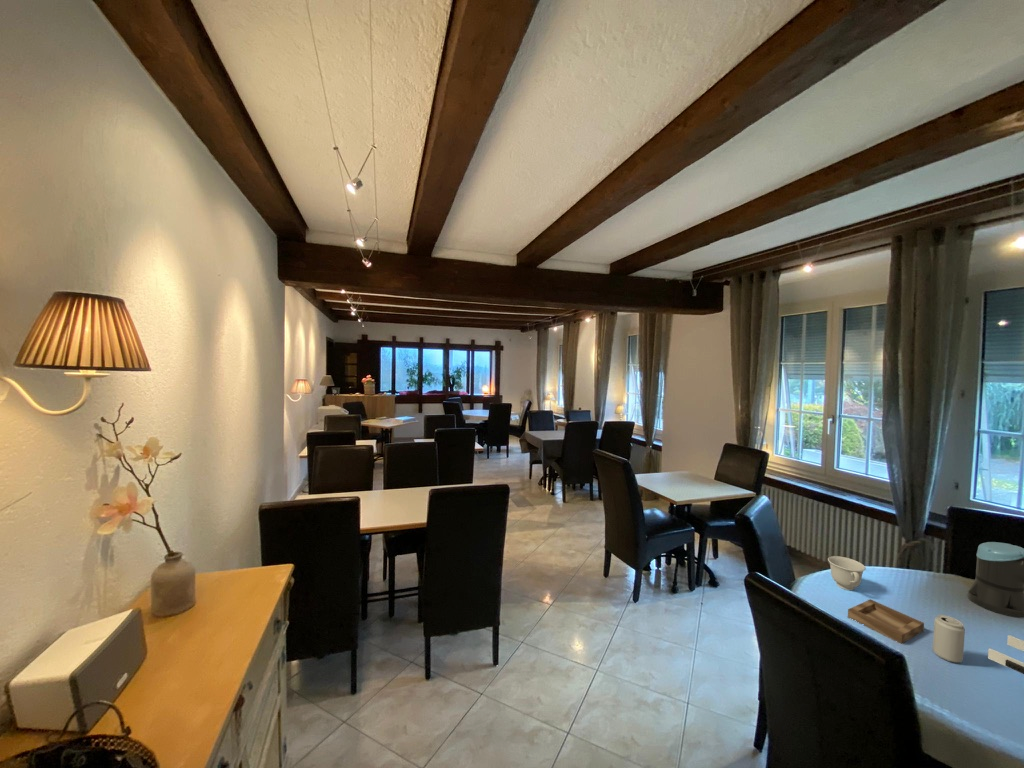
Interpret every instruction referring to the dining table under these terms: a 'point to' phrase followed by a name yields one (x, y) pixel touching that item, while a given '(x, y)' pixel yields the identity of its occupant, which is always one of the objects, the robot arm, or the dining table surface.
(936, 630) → the beverage can
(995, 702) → the dining table surface
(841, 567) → the teacup
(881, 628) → the tray
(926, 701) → the dining table surface
